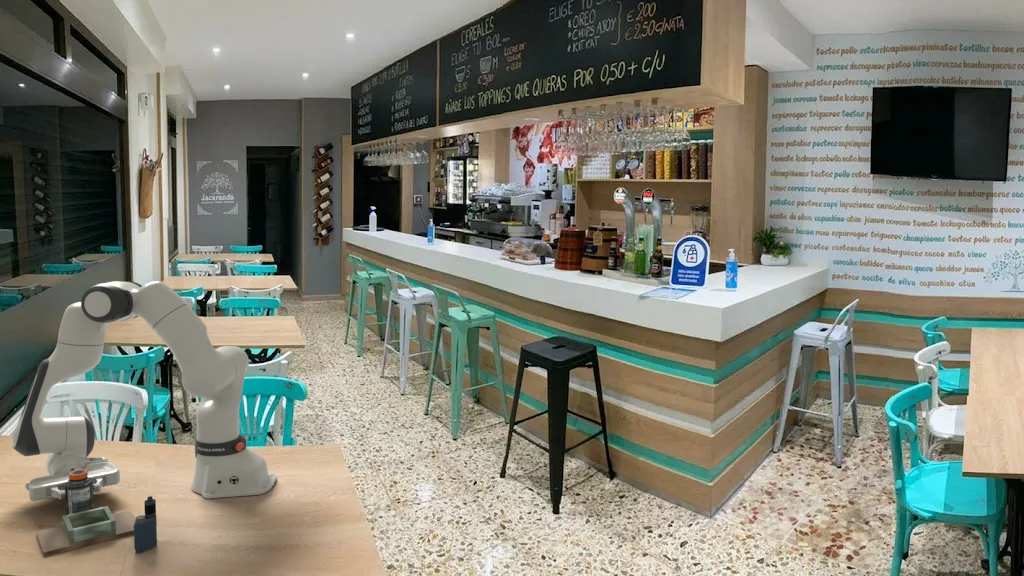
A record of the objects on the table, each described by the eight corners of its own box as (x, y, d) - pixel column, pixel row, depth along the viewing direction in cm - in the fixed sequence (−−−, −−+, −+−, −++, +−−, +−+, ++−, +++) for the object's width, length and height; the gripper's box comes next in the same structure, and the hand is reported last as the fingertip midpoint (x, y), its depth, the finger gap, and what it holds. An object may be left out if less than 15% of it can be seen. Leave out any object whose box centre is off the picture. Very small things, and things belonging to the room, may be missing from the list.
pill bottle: (74, 508, 181) (72, 466, 180) (98, 508, 182) (96, 467, 180) (61, 519, 175) (59, 476, 174) (86, 519, 176) (84, 476, 174)
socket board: (130, 513, 180) (129, 499, 179) (141, 532, 171) (140, 516, 170) (36, 535, 167) (35, 519, 166) (43, 556, 158) (42, 539, 157)
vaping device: (159, 544, 165) (158, 496, 163) (139, 554, 160) (138, 504, 159) (152, 542, 166) (150, 494, 165) (132, 551, 161) (130, 502, 160)
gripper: (23, 472, 181) (29, 490, 170) (113, 455, 194) (124, 471, 183) (24, 495, 181) (31, 515, 171) (113, 477, 194) (124, 494, 184)
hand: (80, 492), depth 177 cm, fingers open, 6 cm apart
